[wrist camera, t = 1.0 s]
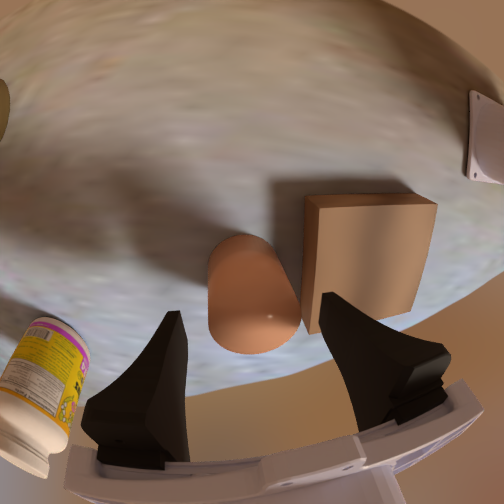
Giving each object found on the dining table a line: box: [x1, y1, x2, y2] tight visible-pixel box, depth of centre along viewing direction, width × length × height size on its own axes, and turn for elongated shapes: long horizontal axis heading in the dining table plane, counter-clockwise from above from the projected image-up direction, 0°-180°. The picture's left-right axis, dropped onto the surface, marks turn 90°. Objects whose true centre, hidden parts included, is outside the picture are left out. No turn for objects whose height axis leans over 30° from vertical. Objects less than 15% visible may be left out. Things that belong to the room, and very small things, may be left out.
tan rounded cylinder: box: [208, 235, 302, 354], centre depth 15 cm, size 5×5×6 cm
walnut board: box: [300, 193, 438, 335], centre depth 18 cm, size 9×9×2 cm
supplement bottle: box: [0, 317, 90, 479], centre depth 13 cm, size 7×7×13 cm
